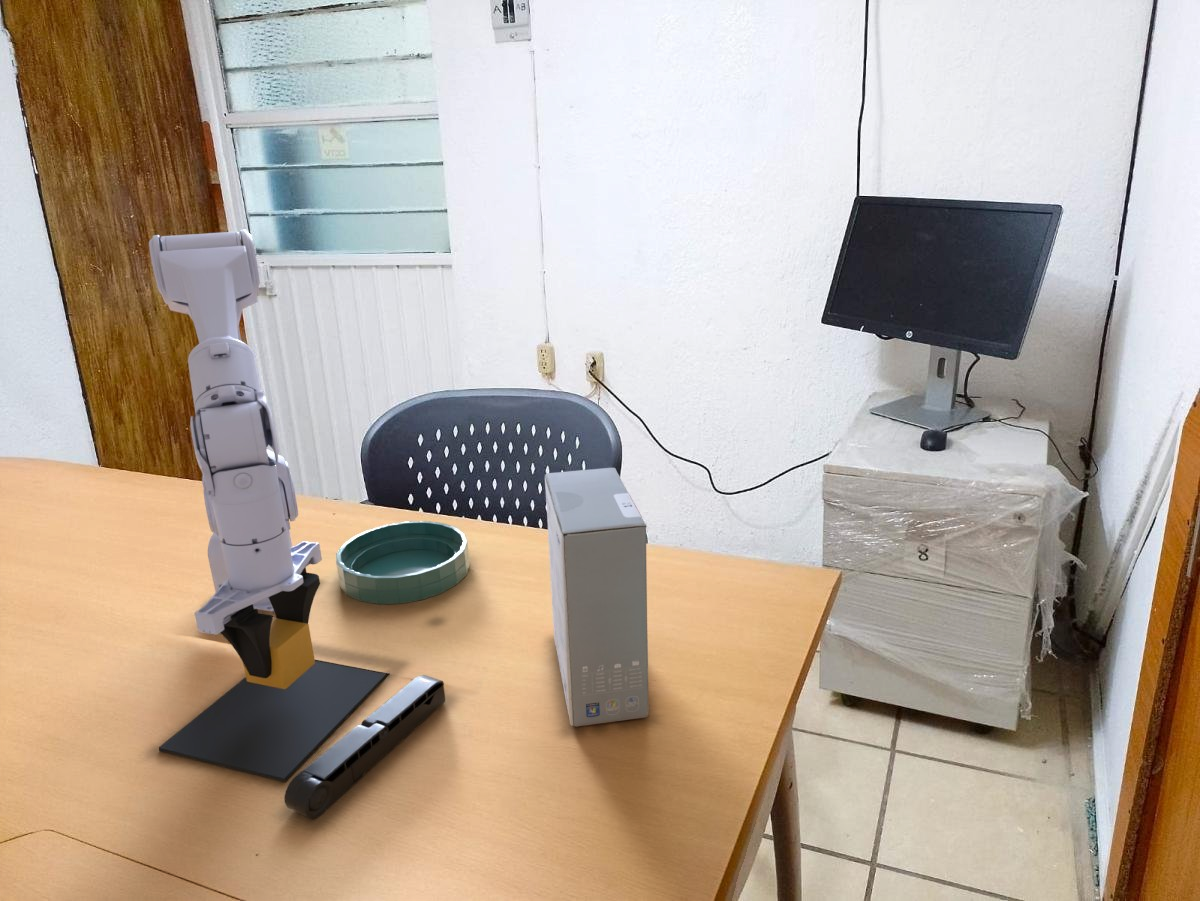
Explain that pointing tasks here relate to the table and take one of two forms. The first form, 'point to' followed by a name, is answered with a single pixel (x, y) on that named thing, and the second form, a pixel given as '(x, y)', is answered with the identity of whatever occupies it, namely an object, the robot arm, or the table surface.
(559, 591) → the hard drive box
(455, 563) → the bowl
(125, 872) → the table surface
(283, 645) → the block
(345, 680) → the mat
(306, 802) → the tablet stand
